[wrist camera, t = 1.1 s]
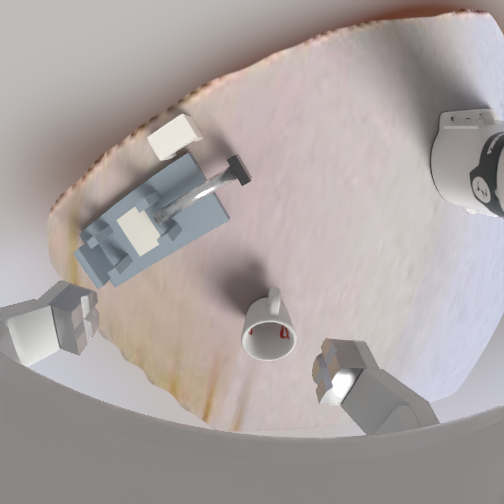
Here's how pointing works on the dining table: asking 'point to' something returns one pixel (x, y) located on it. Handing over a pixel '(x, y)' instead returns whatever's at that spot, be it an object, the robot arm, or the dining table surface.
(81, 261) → the block
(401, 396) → the robot arm
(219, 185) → the shaft
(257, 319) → the cup
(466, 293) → the dining table surface
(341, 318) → the dining table surface
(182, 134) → the bracket
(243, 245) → the dining table surface
